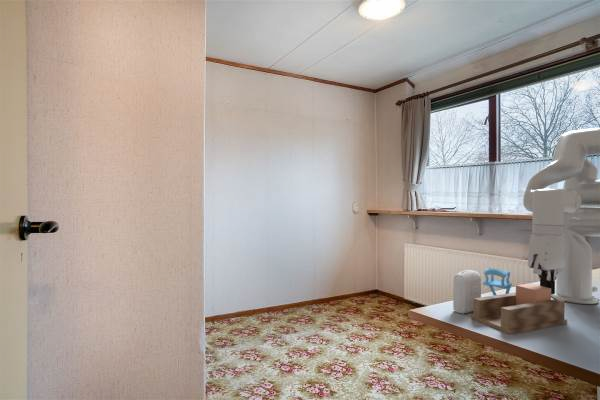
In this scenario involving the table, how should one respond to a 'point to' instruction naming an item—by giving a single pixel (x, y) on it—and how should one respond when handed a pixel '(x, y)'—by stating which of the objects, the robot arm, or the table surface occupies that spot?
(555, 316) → the chute
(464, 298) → the photo printer
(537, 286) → the block
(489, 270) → the chair
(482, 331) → the table surface
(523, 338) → the table surface
